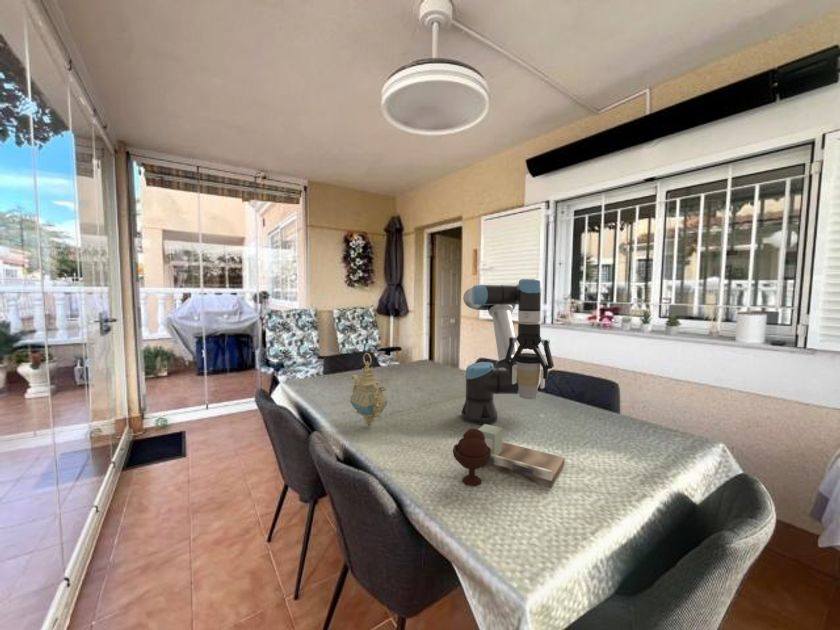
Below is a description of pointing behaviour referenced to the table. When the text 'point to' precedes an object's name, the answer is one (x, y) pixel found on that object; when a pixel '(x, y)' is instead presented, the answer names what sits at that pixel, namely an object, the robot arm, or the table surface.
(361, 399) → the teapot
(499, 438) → the pale green box
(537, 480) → the shelf board
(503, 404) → the table surface
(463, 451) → the ice cream bowl
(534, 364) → the coffee cup
